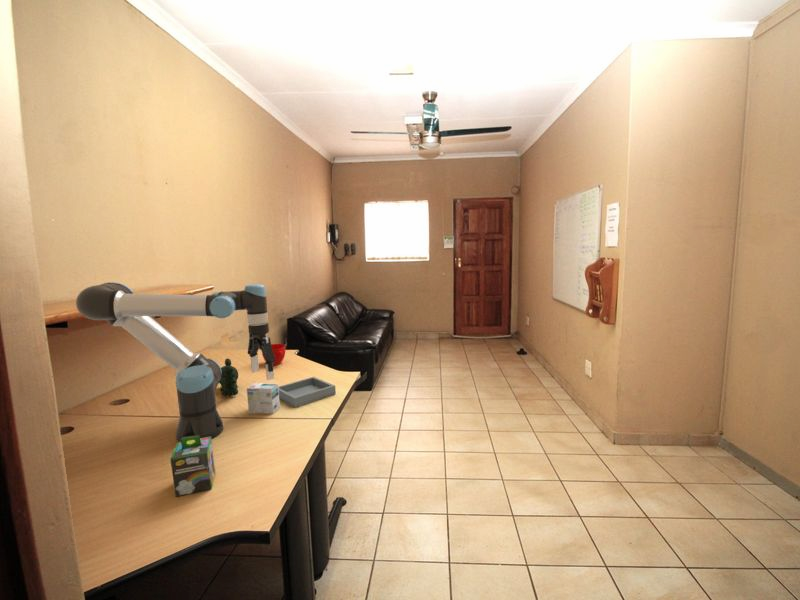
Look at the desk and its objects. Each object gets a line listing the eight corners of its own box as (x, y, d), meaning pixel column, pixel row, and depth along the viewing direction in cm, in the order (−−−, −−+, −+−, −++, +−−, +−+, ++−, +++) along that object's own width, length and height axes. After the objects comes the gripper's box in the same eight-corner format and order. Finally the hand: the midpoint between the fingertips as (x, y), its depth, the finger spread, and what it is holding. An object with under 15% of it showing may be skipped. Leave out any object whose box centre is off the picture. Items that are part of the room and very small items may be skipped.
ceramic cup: (271, 370, 210) (270, 352, 209) (258, 363, 223) (257, 346, 222) (293, 364, 219) (292, 347, 218) (280, 359, 232) (279, 342, 230)
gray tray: (295, 407, 160) (294, 398, 160) (275, 396, 173) (274, 387, 173) (335, 394, 174) (335, 385, 173) (314, 384, 187) (313, 376, 186)
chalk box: (215, 472, 115) (211, 424, 113) (212, 490, 107) (207, 439, 105) (180, 479, 112) (175, 430, 110) (174, 498, 104) (168, 445, 102)
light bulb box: (280, 407, 161) (278, 382, 160) (273, 414, 155) (271, 388, 153) (255, 406, 162) (253, 382, 161) (248, 413, 156) (245, 387, 154)
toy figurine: (243, 401, 172) (237, 380, 194) (240, 361, 168) (234, 344, 190) (220, 406, 168) (216, 383, 189) (216, 365, 164) (213, 346, 185)
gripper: (282, 326, 147) (286, 379, 150) (254, 318, 165) (258, 366, 168) (263, 329, 142) (267, 385, 145) (236, 321, 160) (240, 371, 163)
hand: (262, 375), depth 156 cm, fingers open, 13 cm apart
